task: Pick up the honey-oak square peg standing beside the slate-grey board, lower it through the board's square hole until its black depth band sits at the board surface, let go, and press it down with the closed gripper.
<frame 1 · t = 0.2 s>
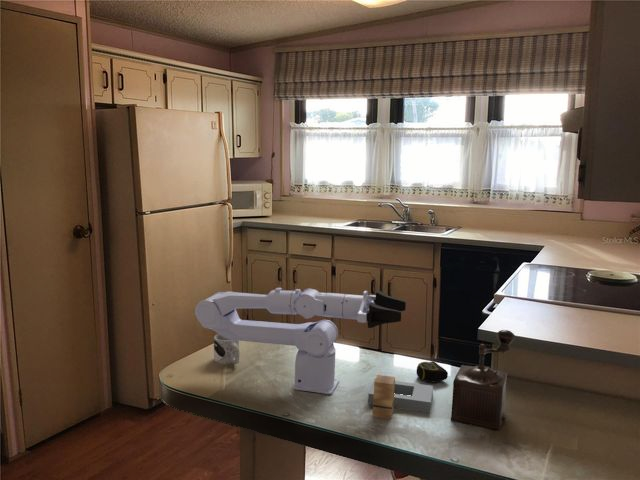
hand: (403, 311, 126), 21 cm above the kitchen counter, fingers open, 7 cm apart
mug: (229, 362, 148), on the kitchen counter
manual coffee grinder: (480, 412, 124), on the kitchen counter
oak peg: (383, 413, 122), on the kitchen counter
hole board: (400, 399, 129), on the kitchen counter
tape measure: (431, 379, 142), on the kitchen counter
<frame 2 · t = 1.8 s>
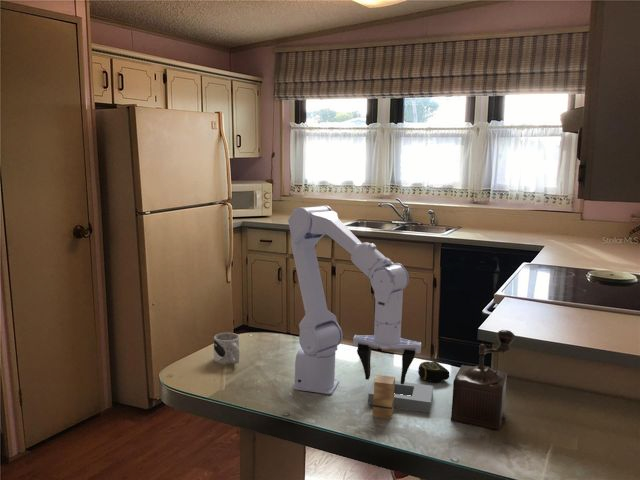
hand: (385, 380, 120), 8 cm above the kitchen counter, fingers open, 7 cm apart
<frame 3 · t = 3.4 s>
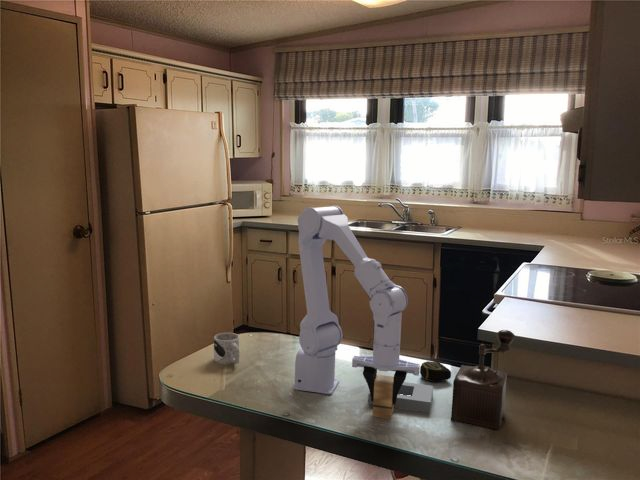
hand: (383, 401, 121), 3 cm above the kitchen counter, fingers closed on oak peg, 4 cm apart
oak peg: (383, 413, 122), on the kitchen counter, touching gripper
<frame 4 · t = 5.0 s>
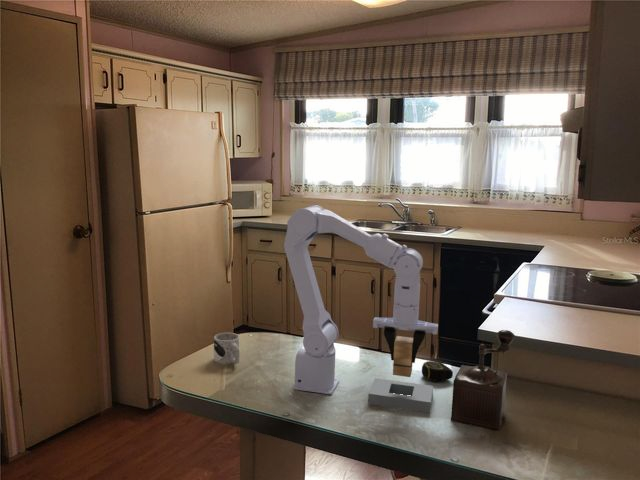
hand: (403, 360, 127), 10 cm above the kitchen counter, fingers closed on oak peg, 4 cm apart
oak peg: (402, 372, 127), point 7 cm above the kitchen counter, touching gripper
when the fingers open (4 cm above the kitchen counter, at t = 6.8 s): oak peg stays where it is, resting in hole board.
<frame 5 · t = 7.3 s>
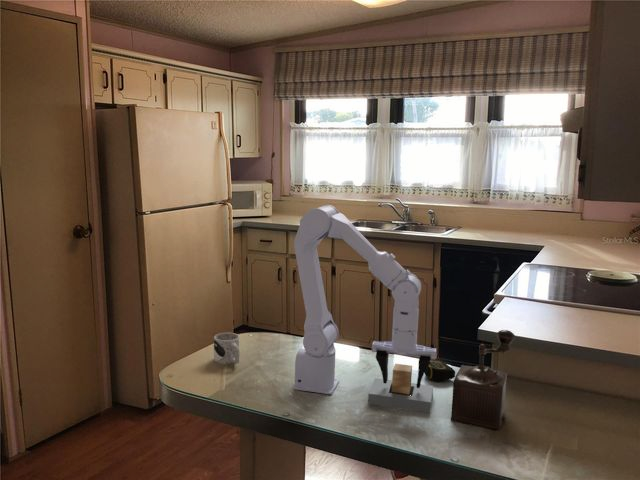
hand: (401, 383, 128), 4 cm above the kitchen counter, fingers open, 7 cm apart
oak peg: (400, 400, 128), resting in hole board
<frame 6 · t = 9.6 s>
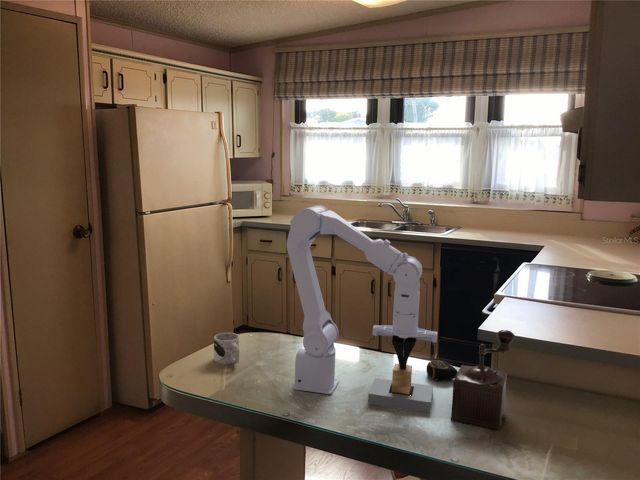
hand: (402, 367, 127), 8 cm above the kitchen counter, fingers closed, pressing on oak peg
oak peg: (400, 400, 128), resting in hole board, touching gripper
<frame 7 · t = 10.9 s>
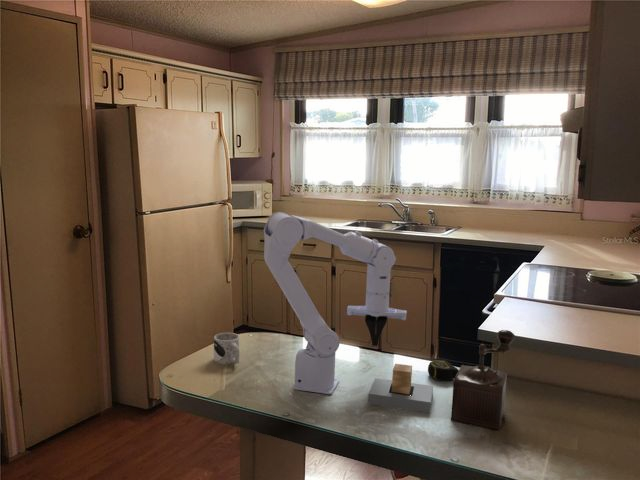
hand: (375, 344, 138), 9 cm above the kitchen counter, fingers closed
oak peg: (400, 400, 128), resting in hole board
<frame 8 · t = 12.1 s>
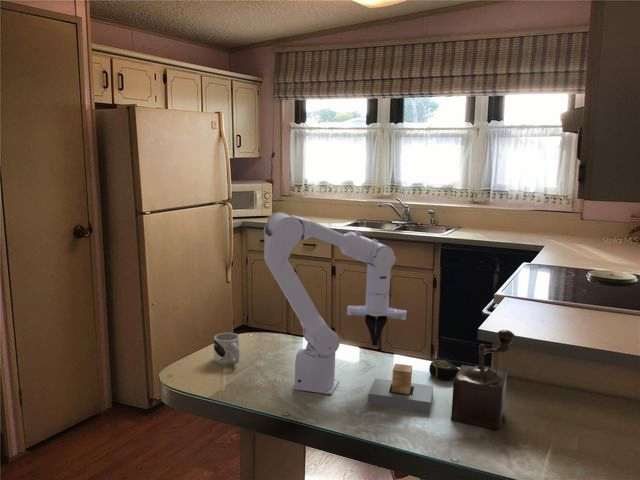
hand: (375, 344, 138), 9 cm above the kitchen counter, fingers closed
at the end: oak peg 0.2 cm off-centre on the hole board, point 0.0 cm above the hole board's base; oak peg tilted 0°; the gripper is holding nothing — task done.
